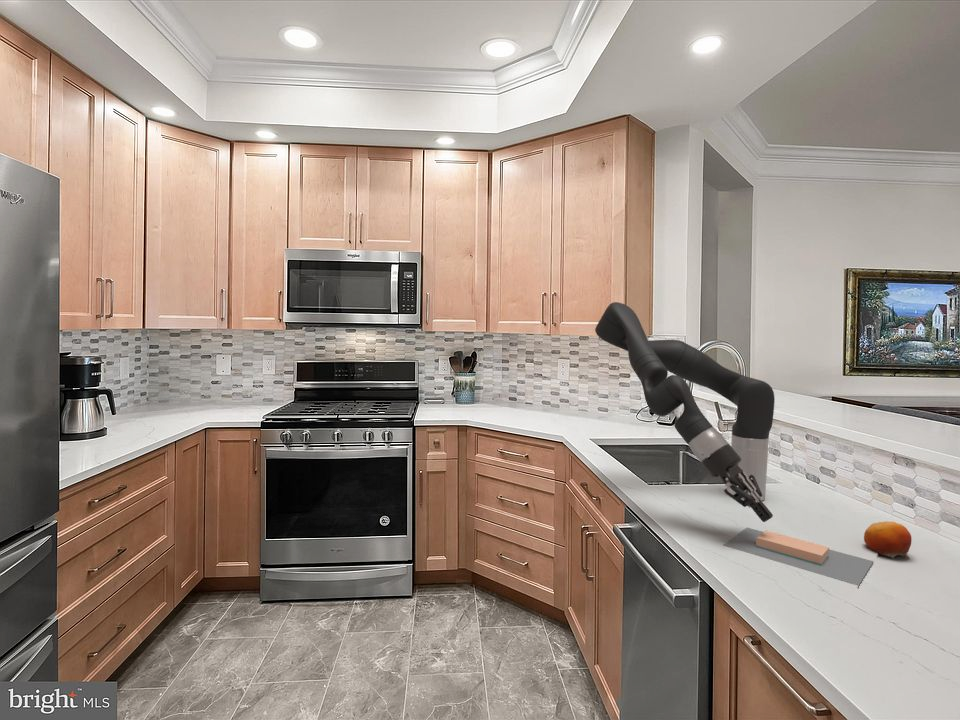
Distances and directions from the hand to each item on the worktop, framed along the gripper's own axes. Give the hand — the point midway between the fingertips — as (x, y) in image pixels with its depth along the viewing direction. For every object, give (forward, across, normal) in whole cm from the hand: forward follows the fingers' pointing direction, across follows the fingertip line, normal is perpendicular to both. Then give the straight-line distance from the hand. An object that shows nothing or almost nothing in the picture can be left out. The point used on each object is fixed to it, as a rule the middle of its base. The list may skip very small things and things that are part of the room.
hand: (768, 519), depth 114 cm
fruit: (+18, -17, +8) cm, 26 cm away
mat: (+8, 0, 0) cm, 8 cm away
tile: (+2, 0, -4) cm, 5 cm away
